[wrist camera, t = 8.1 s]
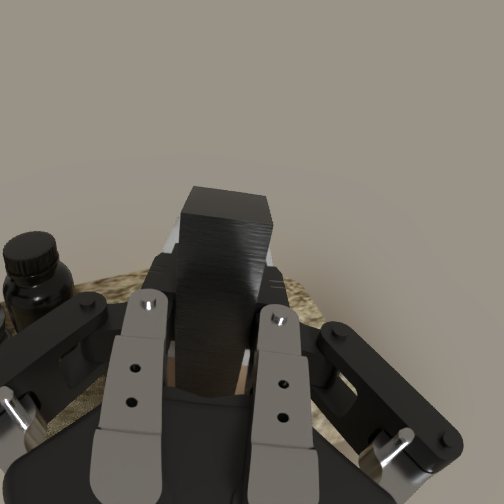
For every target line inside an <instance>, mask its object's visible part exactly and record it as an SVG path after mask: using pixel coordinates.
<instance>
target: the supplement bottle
mask: <svg viewBox="0 0 504 504" xmlns="http://www.w3.org/2000/svg"><path fill="white" fill-rule="evenodd" d="M3 257H4V261H5V268H6V272H7V276H6V278H5V281H4V284H3V295H4V299H5V303H6V306H7V308H8V311H9V314H10V317H11V319H12V322H13V324H14V327H15V329H16V332H17V334H18V333H19V332H21V331H22V330H24V329H25V328H26V327H28V326H29V325H31V324H32V323H34V322H35V321H37V320H38V319H40V318H41V317H43V316H44V315H46V314H48V313H49V312H51V311H52V310H54V309H55V308H57V307H58V306H60V305H61V304H63V303H64V302H66V301H68V300H69V299H71V298H72V297H74V296H75V295H76V293H75V288H74V282H73V278H72V274H71V272H70V270H69V269H68V268H67V266H66V265H64V264H63V263H62V262H61V261H59V254H58V251H57V247H56V241H55V238H54V237H53V236H52V235H51V234H49V233H47V232H41V231H33V232H27V233H23V234H20V235H18V236H16V237H14V238H12V239H11V240H9V242H8V243H6V245H5V246H4V249H3ZM78 346H79V343H77V344H76V345H75V346H73V347H72V348H71V349H70V350H68V351H67V352H66V353H64V354H63V355H62V356H61V358H60V360H61V359H62V358H64V357H65V356H66V355H67V354H69V353H70V352H71V351H73V350H74V349H75V348H77V347H78ZM60 360H59V361H60Z"/></svg>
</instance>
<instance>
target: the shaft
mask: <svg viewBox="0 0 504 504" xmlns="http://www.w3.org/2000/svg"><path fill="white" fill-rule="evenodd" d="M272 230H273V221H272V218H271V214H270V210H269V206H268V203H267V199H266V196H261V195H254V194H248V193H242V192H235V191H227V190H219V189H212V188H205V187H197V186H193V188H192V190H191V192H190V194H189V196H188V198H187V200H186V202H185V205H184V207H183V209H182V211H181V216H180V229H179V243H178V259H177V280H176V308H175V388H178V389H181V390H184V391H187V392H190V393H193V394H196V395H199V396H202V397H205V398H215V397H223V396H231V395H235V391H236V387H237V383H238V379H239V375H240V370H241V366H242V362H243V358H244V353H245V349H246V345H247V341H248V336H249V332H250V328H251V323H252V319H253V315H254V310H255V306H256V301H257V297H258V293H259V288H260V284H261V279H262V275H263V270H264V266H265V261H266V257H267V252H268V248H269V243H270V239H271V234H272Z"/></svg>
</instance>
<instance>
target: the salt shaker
mask: <svg viewBox="0 0 504 504" xmlns="http://www.w3.org/2000/svg"><path fill="white" fill-rule="evenodd" d="M10 338H12V336H11V333H10V332H9V331H8V330H6V329H5V311H4V308H3V307H2V306H1V305H0V345H2V344H3V343H5V342H6V341H8V340H9V339H10Z"/></svg>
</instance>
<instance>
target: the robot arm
mask: <svg viewBox="0 0 504 504" xmlns="http://www.w3.org/2000/svg"><path fill="white" fill-rule="evenodd" d="M177 259H178V243H175V245H174V248H173V250H172V253H164V252H162V253H160V254H159V255H158V256H156V257H155V258H154V261H153V263H152V266H151V267H150V269H149V272H148V274H147V276H146V279H145V281H144V283H143V286H142V288H141V290H138V291H136V292H134V293H133V294H132V295H131V296H130V297H129V300H128V302H124V303H116V304H107V302H106V299H105V297H104V296H102V295H101V294H99V293H96V292H83V293H80V294H77V295H75V296H74V297H72V298H71V299H69V300H68V301H66V302H64V303H63V304H61V305H60V306H58V307H57V308H55V309H54V310H52V311H51V312H49V313H48V314H46V315H44V316H43V317H41V318H40V319H38V320H37V321H35V322H34V323H32V324H31V325H29V326H28V327H26V328H25V329H24V330H22V331H21V332H19V333H18V334H16V335H15V336H13V337H12V338H10V339H9V340H8V341H6V342H5V343H3V344H2V345H0V468H1V469H2V470H3V472H4V473H5V476H4V480H3V498H4V502H5V504H404V503H405V502H406V501H407V500H408V499H409V498H410V497H411V496H412V495H413V494H414V493H415V492H416V491H417V490H418V489H419V488H420V487H421V486H422V485H423V484H424V483H425V482H426V481H427V480H428V479H429V478H431V477H432V476H434V475H435V474H437V473H438V472H439V471H441V470H442V469H443V468H445V467H446V466H448V465H449V464H450V463H452V462H453V461H454V460H456V459H457V458H458V457H459V456H460V455H461V453H462V451H463V439H462V437H461V435H460V433H459V432H458V431H457V430H456V429H455V428H454V427H453V426H452V425H451V424H450V423H449V422H448V421H447V420H446V419H445V418H444V417H443V416H442V415H441V414H440V413H439V412H438V411H437V410H436V409H435V408H434V407H433V406H432V405H431V404H430V403H429V402H428V401H426V399H424V397H423V396H422V395H421V394H419V393H418V392H417V391H416V390H415V389H414V388H413V387H412V386H411V385H410V384H409V383H408V382H407V381H406V380H405V379H404V378H403V377H402V376H401V375H400V374H399V373H398V372H397V371H396V370H395V369H394V368H392V367H391V366H390V365H389V364H388V363H387V362H386V361H385V360H384V359H383V358H382V357H381V356H380V355H379V354H378V353H377V352H376V351H375V350H374V349H373V348H372V347H371V346H370V345H368V344H367V343H366V342H365V341H364V340H363V339H362V338H361V337H360V336H359V335H358V334H357V333H356V332H355V331H354V330H353V329H351V328H350V327H349V326H347V325H345V324H343V323H340V322H334V321H332V322H327V323H325V324H323V325H322V327H321V329H317V328H314V327H310V326H307V325H305V324H303V323H301V322H299V317H298V315H297V314H296V312H295V311H293V310H292V309H291V308H290V307H289V302H288V298H287V294H286V289H285V285H284V283H283V282H284V281H283V276H282V274H281V272H280V271H279V270H278V269H277V268H276V267H273V266H267V262H266V261H265V266H264V270H263V275H262V279H261V284H260V288H259V293H258V297H257V301H256V306H255V310H254V315H253V319H252V323H251V328H250V332H249V336H248V341H247V345H246V350H250V357H249V361H248V365H247V373H246V381H245V389H244V394H239V395H231V396H223V397H215V398H205V397H202V396H199V395H196V394H193V393H190V392H187V391H184V390H181V389H178V388H175V387H171V386H168V350H169V348H170V343H171V341H175V308H176V280H177ZM77 343H79V346H78V347H77V348H75V349H74V350H73V351H71V352H70V353H69V354H67V355H66V356H65V357H64V358H62V359H61V360H60V358H61V356H62V355H63V354H64V353H66V352H67V351H68V350H70V349H71V348H72V347H73V346H75V345H76V344H77ZM59 360H60V361H59ZM107 370H108V373H107V378H106V384H105V389H104V395H103V401H102V404H100V405H99V406H97V407H96V408H94V409H93V410H91V411H90V412H88V413H87V414H85V415H84V416H82V417H81V418H79V419H78V420H76V421H75V422H73V423H72V424H70V425H69V426H67V427H66V428H64V429H63V430H61V431H60V432H58V433H57V434H55V435H54V436H52V437H51V438H49V439H47V440H46V441H45V437H46V434H47V424H48V423H49V422H50V421H51V420H52V419H53V418H54V417H55V416H56V415H58V414H59V413H60V412H61V411H62V410H63V409H64V408H65V407H67V406H68V405H69V404H70V403H71V402H72V401H73V400H74V399H76V398H77V397H78V396H79V395H80V394H81V393H82V392H83V391H84V390H86V389H87V388H88V387H89V386H90V385H91V384H92V383H93V382H95V381H96V380H97V379H98V378H99V377H100V376H101V375H103V374H104V373H105V372H106V371H107ZM340 372H341V373H342V374H343V375H344V376H345V378H346V379H347V380H348V381H349V382H350V383H351V384H352V385H353V386H354V387H355V389H356V391H357V395H358V396H356V394H355V393H354V392H353V391H352V390H351V389H350V388H349V387H348V386H347V385H346V384H345V383H344V381H343V380H342V379H341V378H340V377H339V374H340ZM311 400H312V401H313V402H314V403H315V404H316V406H317V407H318V408H319V409H320V410H321V412H322V413H323V414H324V415H325V417H326V418H327V419H328V420H329V421H330V422H331V424H332V425H333V426H334V427H335V428H336V430H337V431H338V432H339V433H340V434H341V435H342V437H343V438H344V439H345V440H346V441H347V442H348V444H349V445H350V446H351V447H352V448H353V449H354V451H355V452H356V453H357V454H358V455H359V467H360V468H358V467H357V466H356V465H355V464H353V463H352V462H351V461H350V460H349V459H347V458H346V457H345V456H344V455H343V454H342V453H340V452H339V451H338V450H337V449H336V448H335V447H334V446H333V445H332V444H331V443H329V442H328V441H327V440H326V439H325V438H324V437H323V436H322V435H321V434H320V433H318V432H317V431H316V430H315V429H314V428H313V427H312V415H311Z"/></svg>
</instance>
